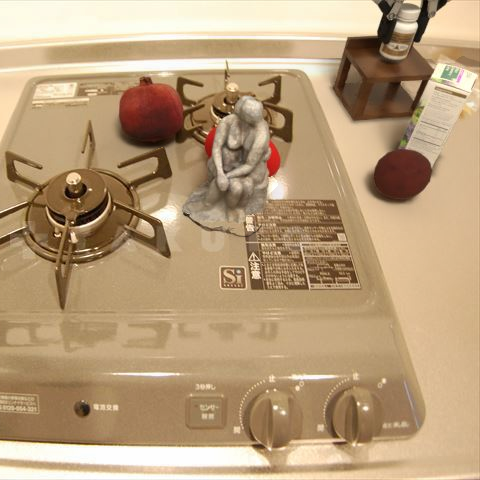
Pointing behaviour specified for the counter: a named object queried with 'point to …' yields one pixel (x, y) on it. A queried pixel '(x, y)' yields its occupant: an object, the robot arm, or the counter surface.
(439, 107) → the syrup box
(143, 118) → the fruit
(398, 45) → the pill bottle
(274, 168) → the heart
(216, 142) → the sculpture
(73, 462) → the counter surface
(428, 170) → the potato
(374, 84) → the rack
